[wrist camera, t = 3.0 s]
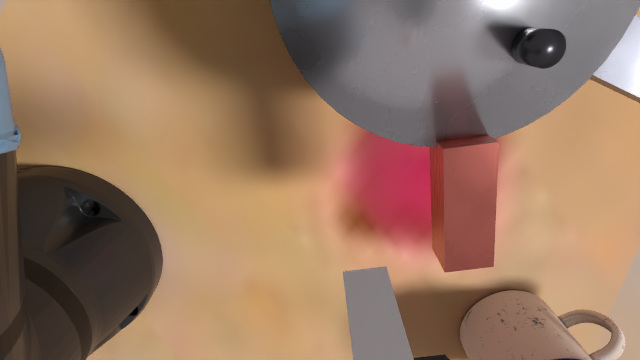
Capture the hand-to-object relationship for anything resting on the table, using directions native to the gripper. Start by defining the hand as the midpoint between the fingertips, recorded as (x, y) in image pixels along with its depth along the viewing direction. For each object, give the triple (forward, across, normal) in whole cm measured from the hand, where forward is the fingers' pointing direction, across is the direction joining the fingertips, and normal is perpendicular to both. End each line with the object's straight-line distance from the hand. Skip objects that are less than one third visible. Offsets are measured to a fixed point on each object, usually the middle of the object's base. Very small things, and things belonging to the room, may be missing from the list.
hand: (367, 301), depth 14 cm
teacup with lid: (+19, +15, -19) cm, 31 cm away
